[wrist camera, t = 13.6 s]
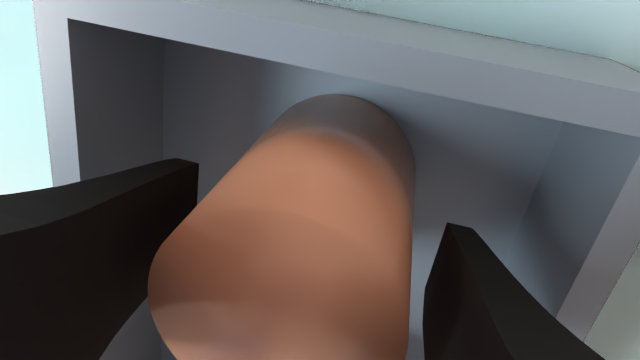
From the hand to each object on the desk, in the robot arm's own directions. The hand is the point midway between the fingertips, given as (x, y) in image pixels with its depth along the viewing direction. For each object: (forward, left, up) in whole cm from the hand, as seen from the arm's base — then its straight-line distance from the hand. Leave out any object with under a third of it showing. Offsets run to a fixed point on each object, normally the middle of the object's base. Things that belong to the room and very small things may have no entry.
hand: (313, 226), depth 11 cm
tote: (-4, 0, -4) cm, 6 cm away
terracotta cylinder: (0, 0, -3) cm, 3 cm away
